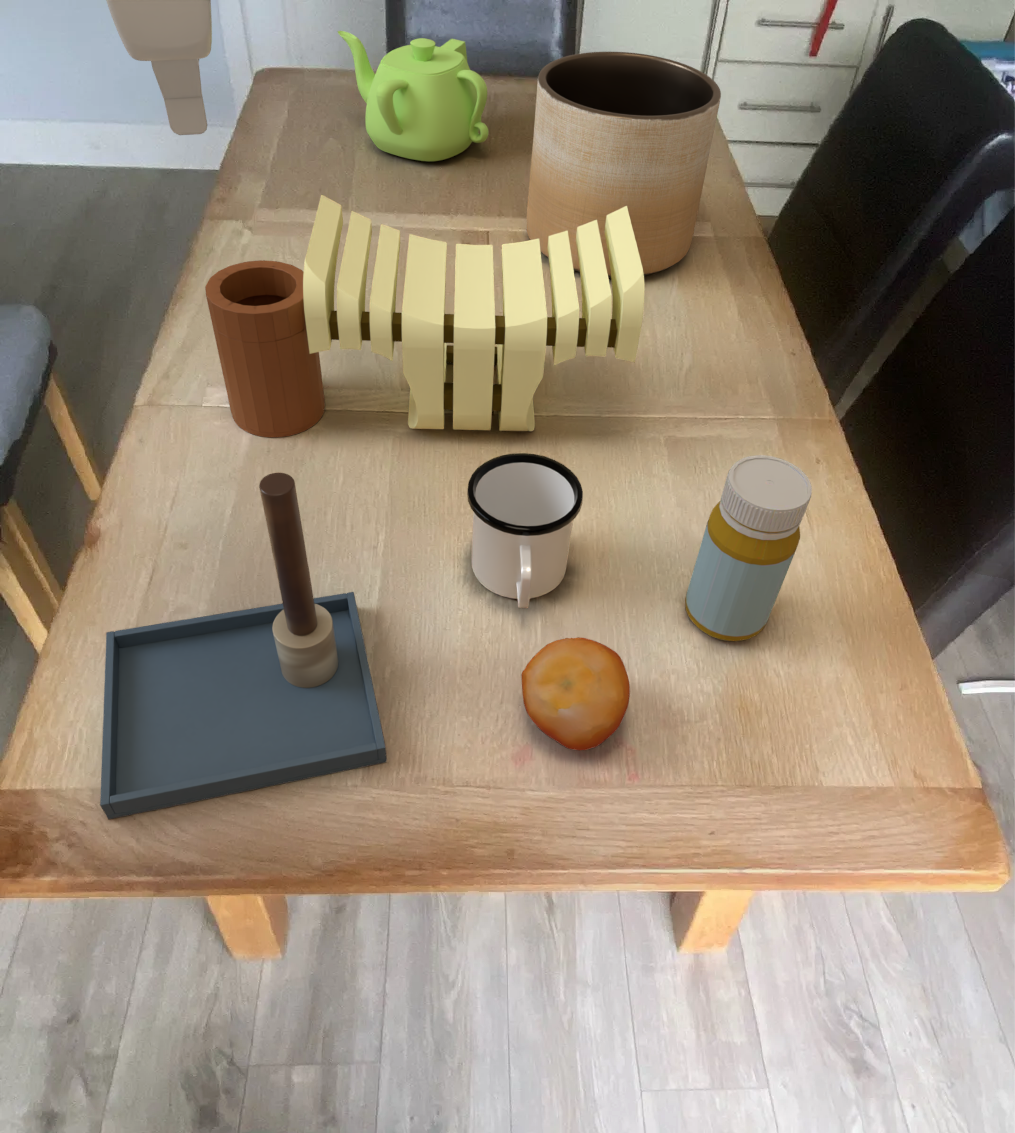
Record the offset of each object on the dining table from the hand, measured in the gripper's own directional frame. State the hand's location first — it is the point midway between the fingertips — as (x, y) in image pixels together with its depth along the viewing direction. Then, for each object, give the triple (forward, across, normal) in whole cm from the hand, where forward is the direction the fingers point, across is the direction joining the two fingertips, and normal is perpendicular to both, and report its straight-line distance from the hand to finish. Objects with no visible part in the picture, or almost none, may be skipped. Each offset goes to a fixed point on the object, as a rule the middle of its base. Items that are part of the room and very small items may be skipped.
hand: (187, 94), depth 49 cm
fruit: (+39, +19, +20) cm, 48 cm away
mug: (+39, +4, +20) cm, 44 cm away
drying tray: (+39, +12, -4) cm, 41 cm away
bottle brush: (+39, +10, +1) cm, 40 cm away
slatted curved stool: (+39, -22, +22) cm, 50 cm away
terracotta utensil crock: (+39, -24, +2) cm, 46 cm away
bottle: (+39, +12, +36) cm, 55 cm away
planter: (+39, -52, +48) cm, 81 cm away
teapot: (+39, -88, +29) cm, 101 cm away
